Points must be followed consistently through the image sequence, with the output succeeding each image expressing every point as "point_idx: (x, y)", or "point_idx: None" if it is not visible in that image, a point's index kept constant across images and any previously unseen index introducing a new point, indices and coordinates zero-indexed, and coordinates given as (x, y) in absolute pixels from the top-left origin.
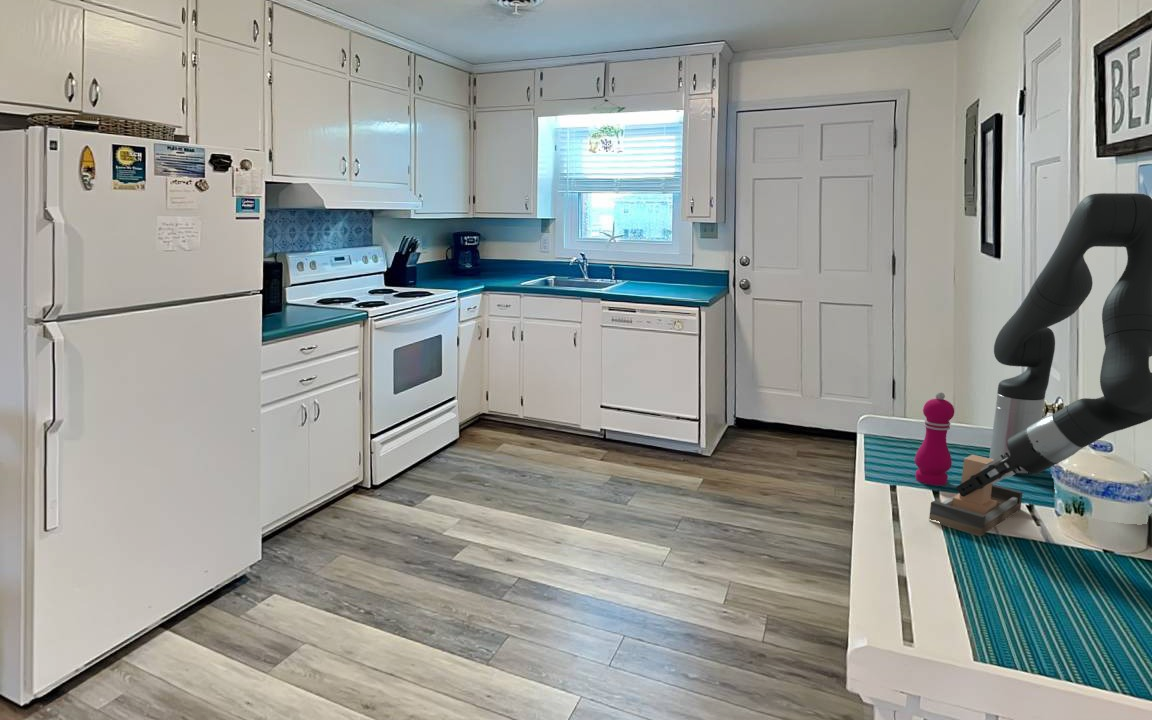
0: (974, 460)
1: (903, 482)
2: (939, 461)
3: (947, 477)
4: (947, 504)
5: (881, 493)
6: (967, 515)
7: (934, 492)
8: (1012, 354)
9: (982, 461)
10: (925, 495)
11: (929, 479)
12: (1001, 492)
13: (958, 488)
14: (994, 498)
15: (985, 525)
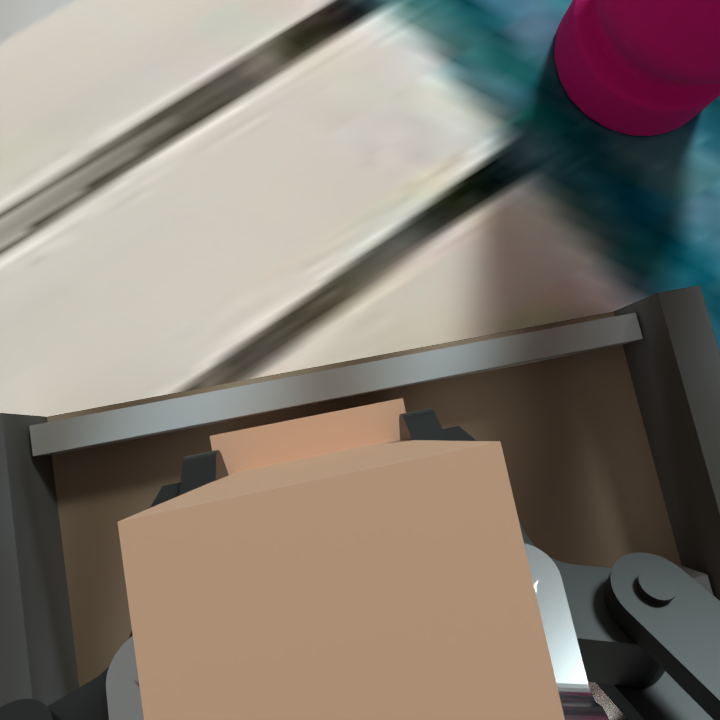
0: (175, 697)
1: (463, 3)
2: (689, 5)
3: (699, 109)
4: (175, 429)
5: (188, 37)
6: None
7: (483, 176)
8: None
9: None
10: (393, 178)
11: (579, 70)
12: (694, 495)
13: (160, 493)
14: (635, 466)
15: None
